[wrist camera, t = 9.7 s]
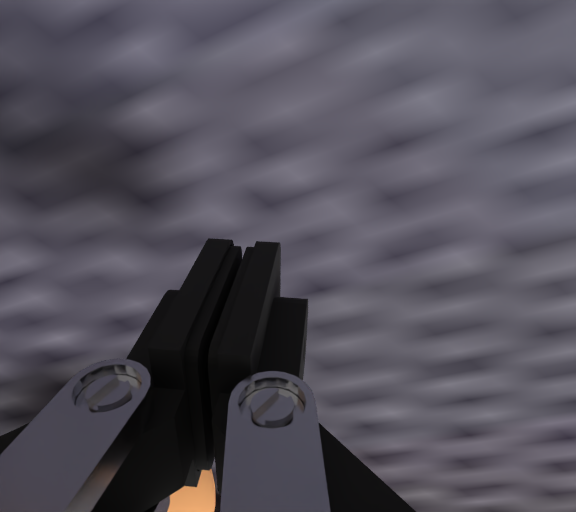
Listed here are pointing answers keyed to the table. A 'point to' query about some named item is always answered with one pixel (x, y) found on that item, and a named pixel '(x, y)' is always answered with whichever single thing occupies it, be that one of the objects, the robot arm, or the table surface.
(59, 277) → the table surface
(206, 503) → the ball
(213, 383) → the robot arm
